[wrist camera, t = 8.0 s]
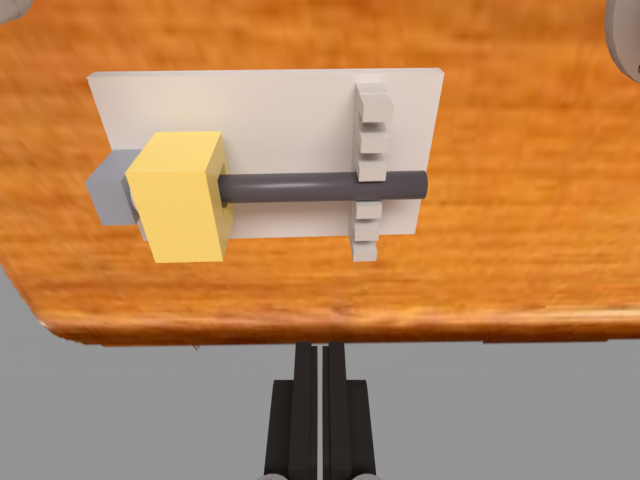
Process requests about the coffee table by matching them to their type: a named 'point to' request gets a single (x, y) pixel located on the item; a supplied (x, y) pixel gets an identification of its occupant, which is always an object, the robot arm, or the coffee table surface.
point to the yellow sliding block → (182, 196)
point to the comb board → (283, 145)
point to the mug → (13, 9)
